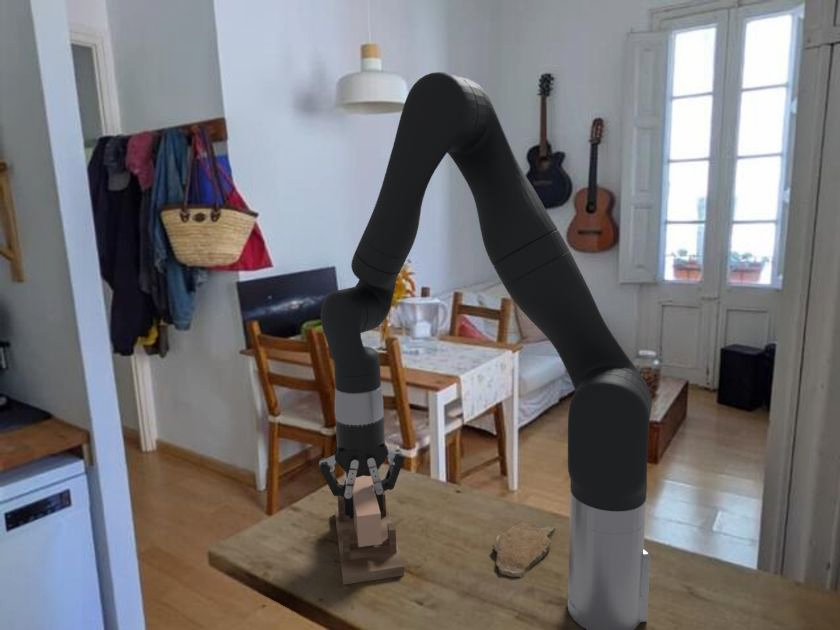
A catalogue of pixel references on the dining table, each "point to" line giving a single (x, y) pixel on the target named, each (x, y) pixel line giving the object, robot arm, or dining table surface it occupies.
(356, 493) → the clay bar
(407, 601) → the dining table surface
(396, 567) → the brown cradle stand
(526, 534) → the pottery shard
